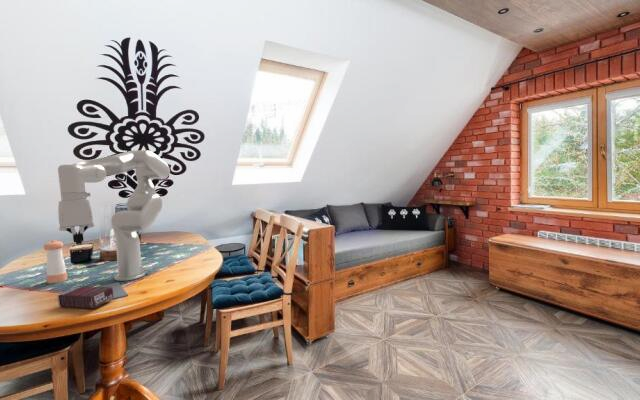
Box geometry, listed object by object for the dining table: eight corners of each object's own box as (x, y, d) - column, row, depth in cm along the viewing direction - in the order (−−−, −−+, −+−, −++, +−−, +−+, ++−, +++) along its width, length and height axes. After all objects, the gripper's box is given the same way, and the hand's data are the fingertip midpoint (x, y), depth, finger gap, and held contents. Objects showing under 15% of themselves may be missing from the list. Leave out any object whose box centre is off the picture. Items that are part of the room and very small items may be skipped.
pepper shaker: (59, 283, 140) (55, 241, 139) (42, 283, 140) (38, 242, 138) (71, 277, 148) (67, 238, 146) (54, 278, 147) (50, 238, 145)
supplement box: (58, 307, 115) (94, 309, 112) (56, 295, 114) (92, 296, 111) (80, 297, 123) (114, 298, 120) (78, 285, 122) (112, 286, 119)
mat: (118, 283, 139) (118, 281, 139) (127, 295, 125) (127, 294, 125) (78, 291, 130) (78, 290, 130) (84, 306, 115) (84, 305, 115)
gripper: (96, 194, 127) (100, 238, 129) (47, 198, 117) (53, 245, 119) (98, 196, 121) (103, 241, 124) (48, 199, 111) (54, 249, 114)
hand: (78, 243), depth 121 cm, fingers closed
